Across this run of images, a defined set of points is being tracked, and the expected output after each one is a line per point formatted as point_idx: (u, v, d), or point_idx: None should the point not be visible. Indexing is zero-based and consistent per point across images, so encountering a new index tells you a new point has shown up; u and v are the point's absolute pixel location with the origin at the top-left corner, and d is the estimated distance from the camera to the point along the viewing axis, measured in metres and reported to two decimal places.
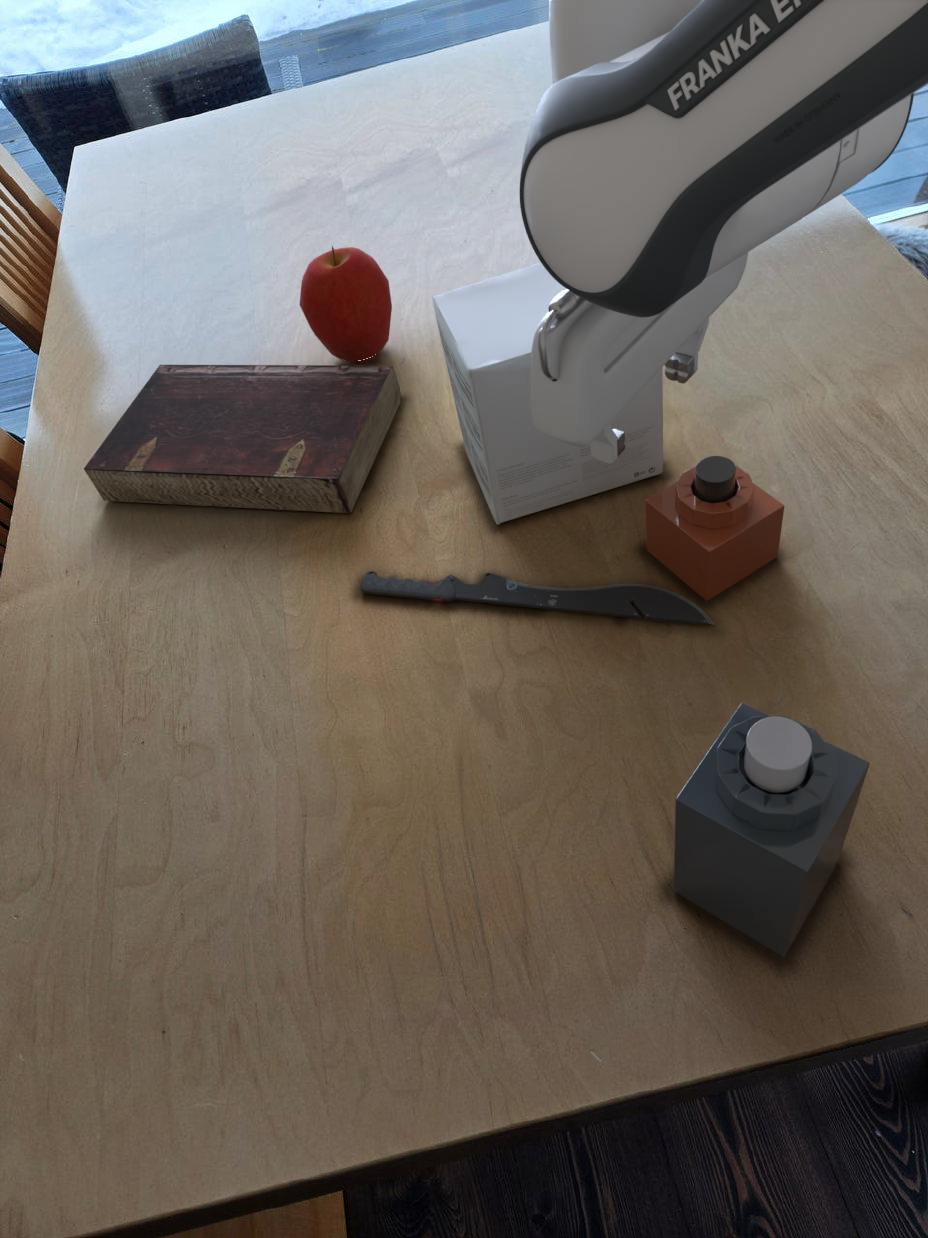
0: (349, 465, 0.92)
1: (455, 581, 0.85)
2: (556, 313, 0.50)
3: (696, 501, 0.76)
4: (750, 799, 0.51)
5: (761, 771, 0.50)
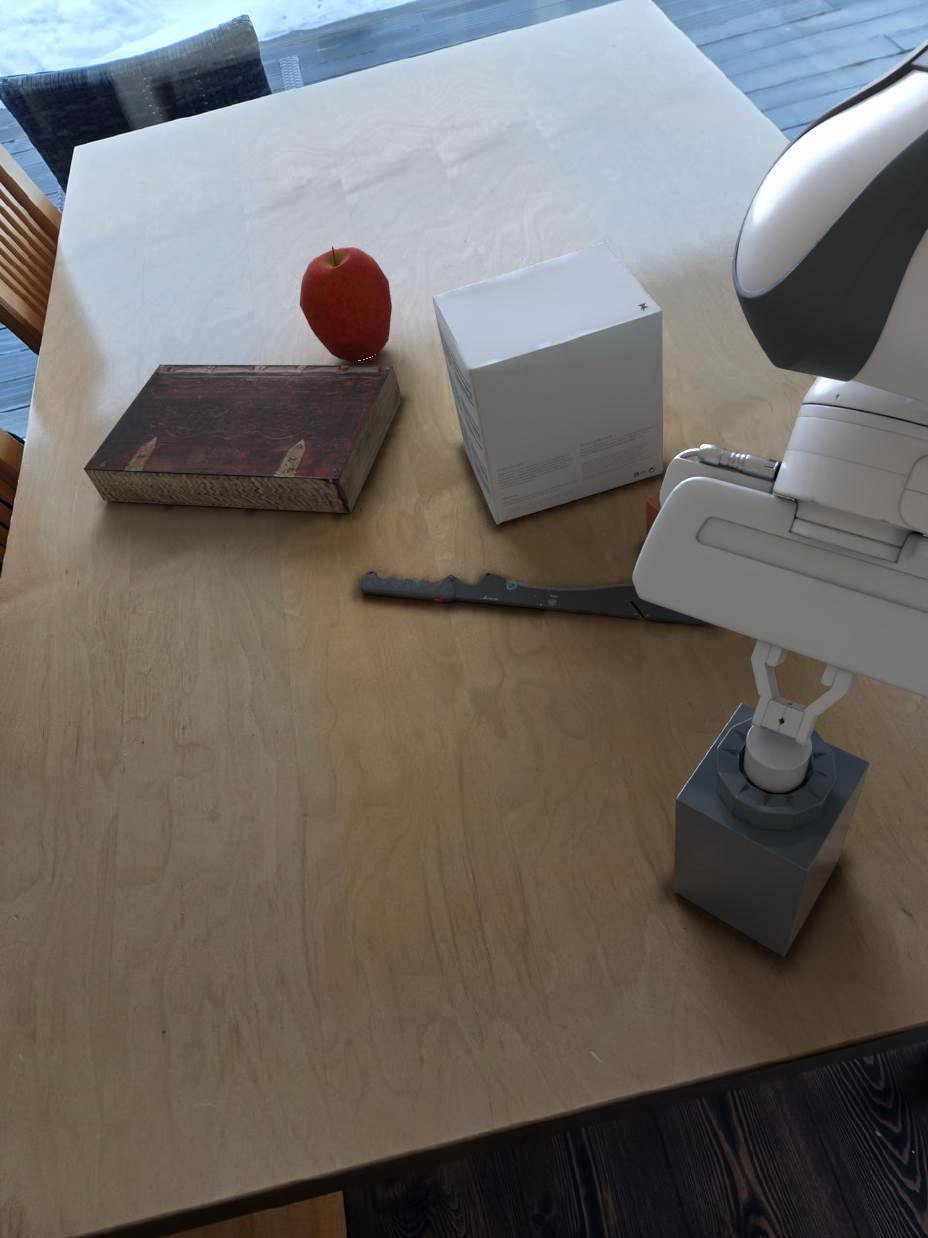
0: (349, 465, 0.92)
1: (455, 581, 0.85)
2: (696, 450, 0.51)
3: None
4: (750, 799, 0.51)
5: (761, 771, 0.50)
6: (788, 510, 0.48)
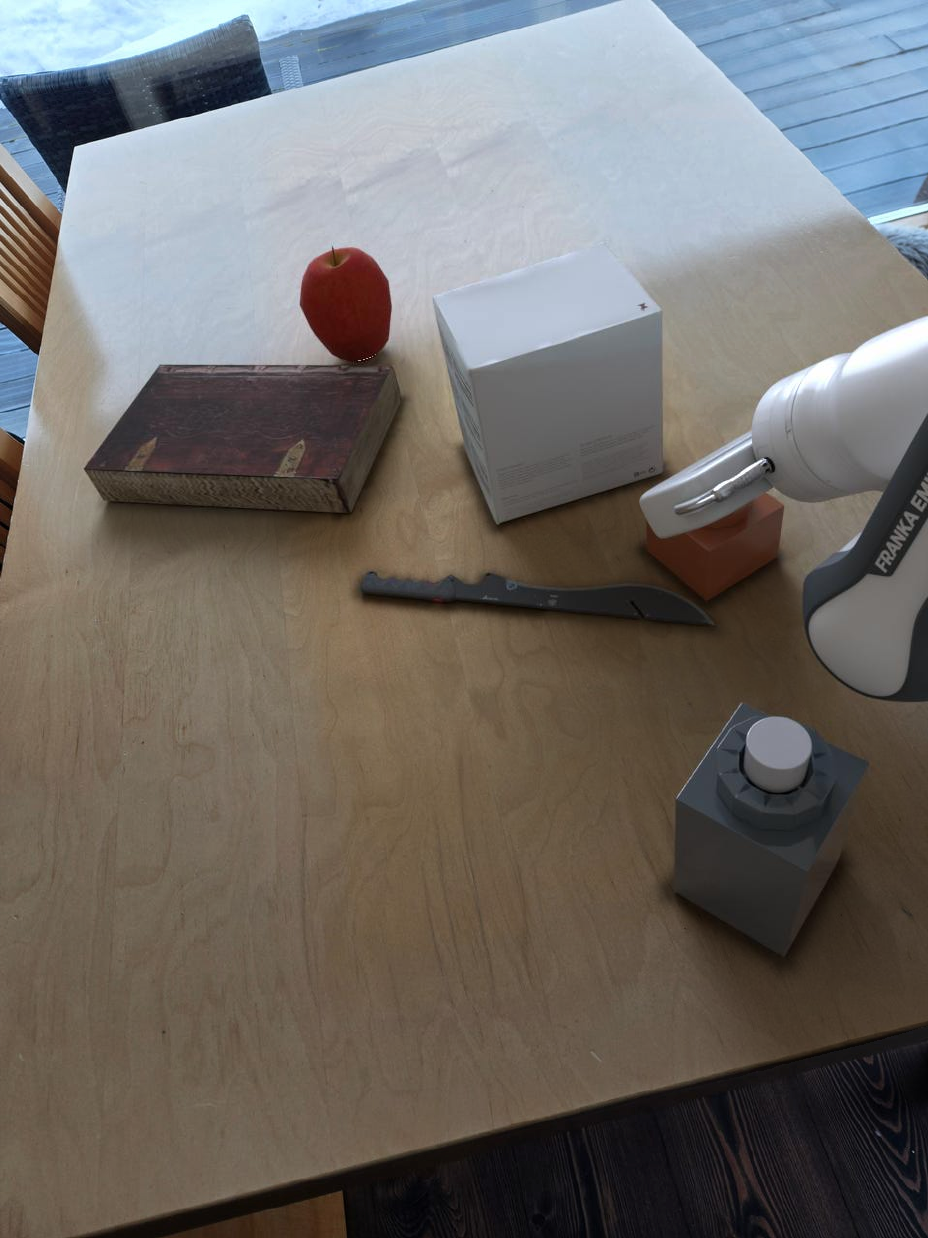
0: (349, 465, 0.92)
1: (455, 581, 0.85)
2: (714, 500, 0.60)
3: None
4: (750, 799, 0.51)
5: (761, 771, 0.50)
6: None
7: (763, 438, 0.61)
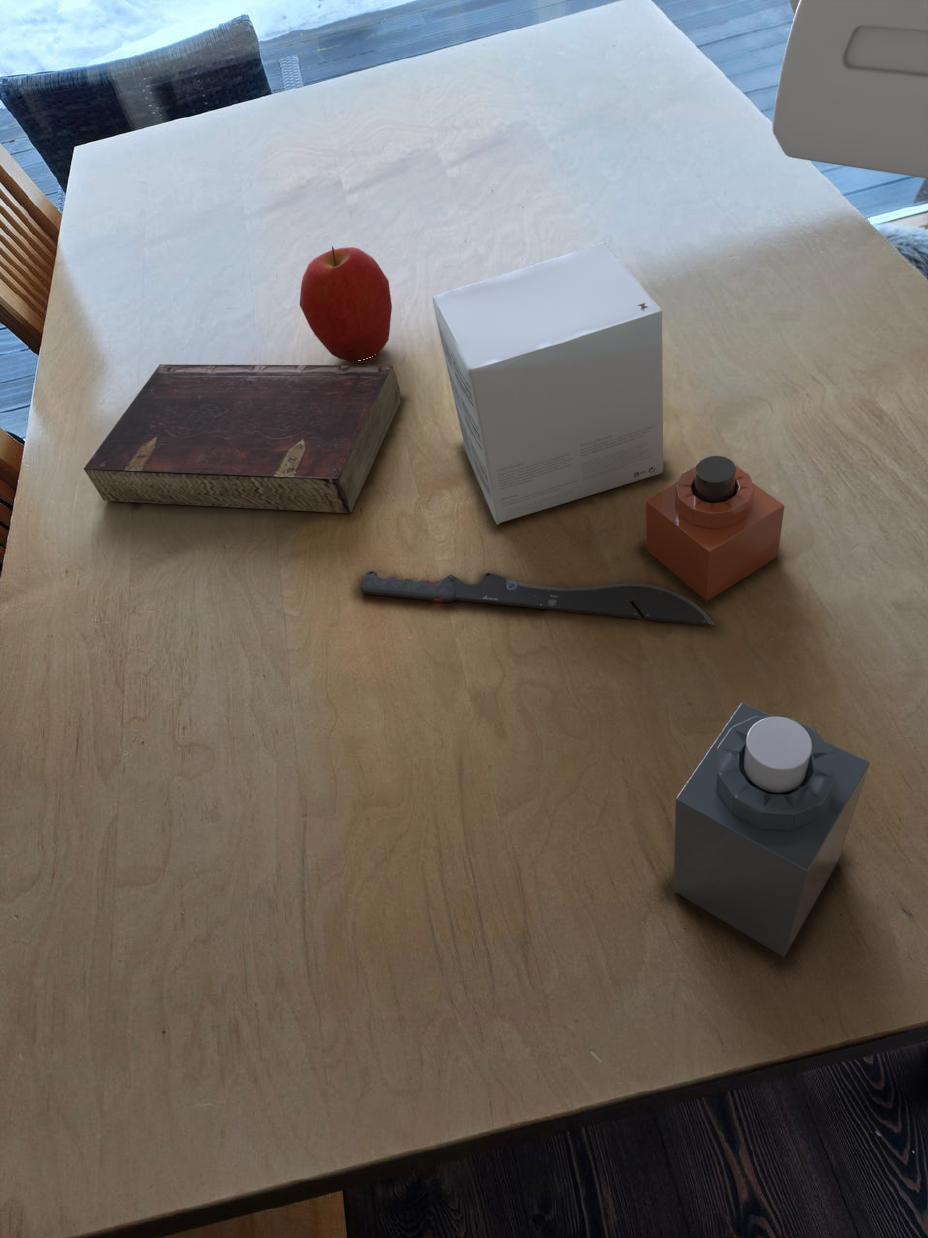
0: (349, 465, 0.92)
1: (455, 581, 0.85)
2: None
3: (696, 501, 0.76)
4: (750, 799, 0.51)
5: (761, 771, 0.50)
6: None
7: None
